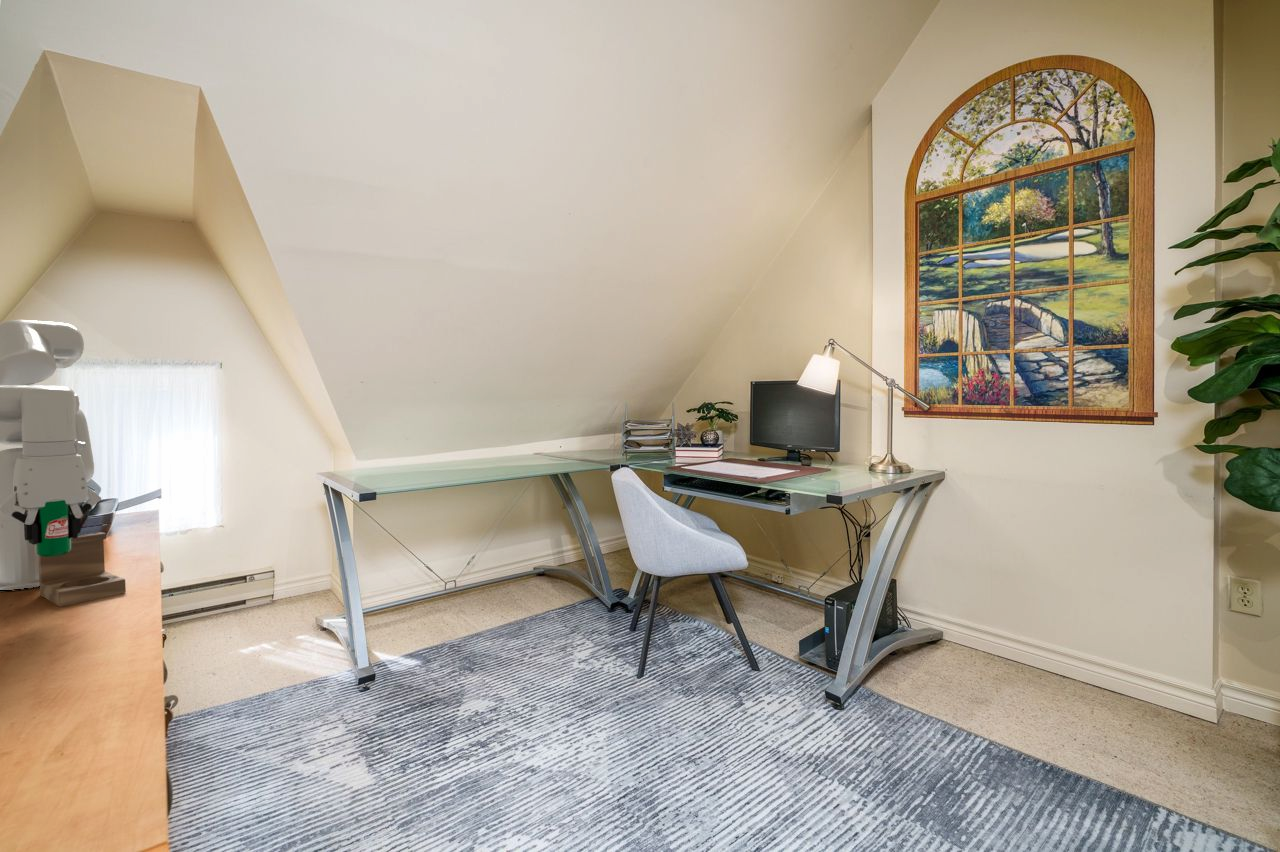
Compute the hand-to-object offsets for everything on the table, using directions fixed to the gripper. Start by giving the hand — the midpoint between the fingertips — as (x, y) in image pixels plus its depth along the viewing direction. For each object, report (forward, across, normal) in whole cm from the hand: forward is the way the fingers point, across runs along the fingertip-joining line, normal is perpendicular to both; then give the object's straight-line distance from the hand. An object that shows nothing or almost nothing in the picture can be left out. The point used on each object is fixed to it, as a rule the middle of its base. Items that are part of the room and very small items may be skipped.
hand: (53, 539), depth 118 cm
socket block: (+15, -7, -9) cm, 19 cm away
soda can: (+3, 0, 0) cm, 3 cm away
